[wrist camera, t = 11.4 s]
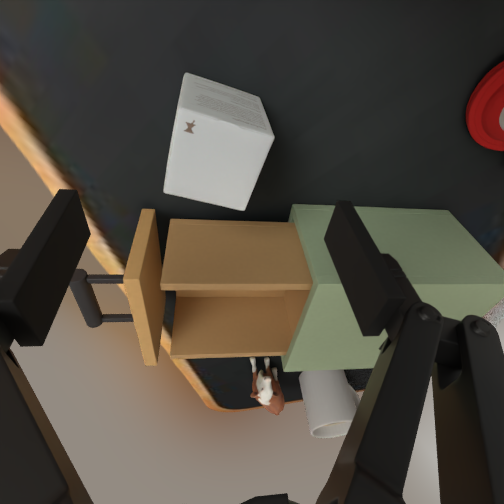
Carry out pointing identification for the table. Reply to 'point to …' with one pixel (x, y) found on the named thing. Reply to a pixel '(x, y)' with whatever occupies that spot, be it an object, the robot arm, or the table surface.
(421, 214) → the cabinet
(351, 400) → the mug
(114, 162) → the table surface
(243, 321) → the drawer
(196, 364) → the table surface
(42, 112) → the table surface
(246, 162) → the product box
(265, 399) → the bull figurine
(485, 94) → the tracker holder
